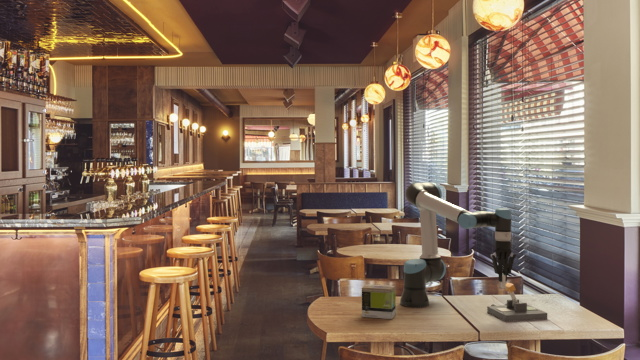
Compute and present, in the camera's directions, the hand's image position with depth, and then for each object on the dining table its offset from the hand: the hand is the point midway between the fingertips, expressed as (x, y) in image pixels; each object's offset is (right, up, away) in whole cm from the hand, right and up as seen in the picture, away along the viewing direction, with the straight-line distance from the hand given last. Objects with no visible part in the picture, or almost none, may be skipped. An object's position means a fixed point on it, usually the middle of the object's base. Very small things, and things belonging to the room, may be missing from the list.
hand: (502, 288), depth 287 cm
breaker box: (+7, -14, +6) cm, 17 cm away
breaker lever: (+8, -10, +2) cm, 13 cm away
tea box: (-61, -14, +1) cm, 62 cm away
